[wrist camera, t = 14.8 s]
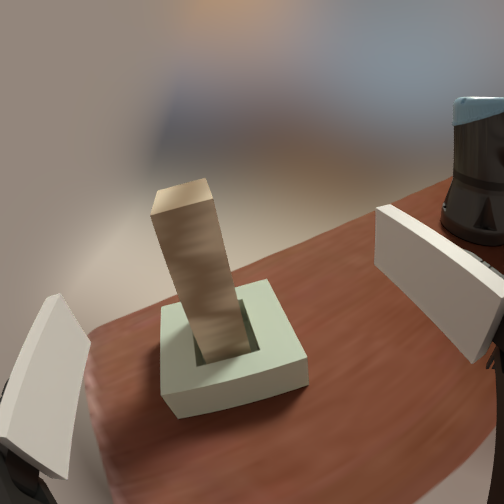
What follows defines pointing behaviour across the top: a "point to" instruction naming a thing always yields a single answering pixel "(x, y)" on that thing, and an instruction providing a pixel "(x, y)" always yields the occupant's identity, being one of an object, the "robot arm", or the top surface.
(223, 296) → the wooden block
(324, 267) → the top surface
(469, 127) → the robot arm
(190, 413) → the end cap
